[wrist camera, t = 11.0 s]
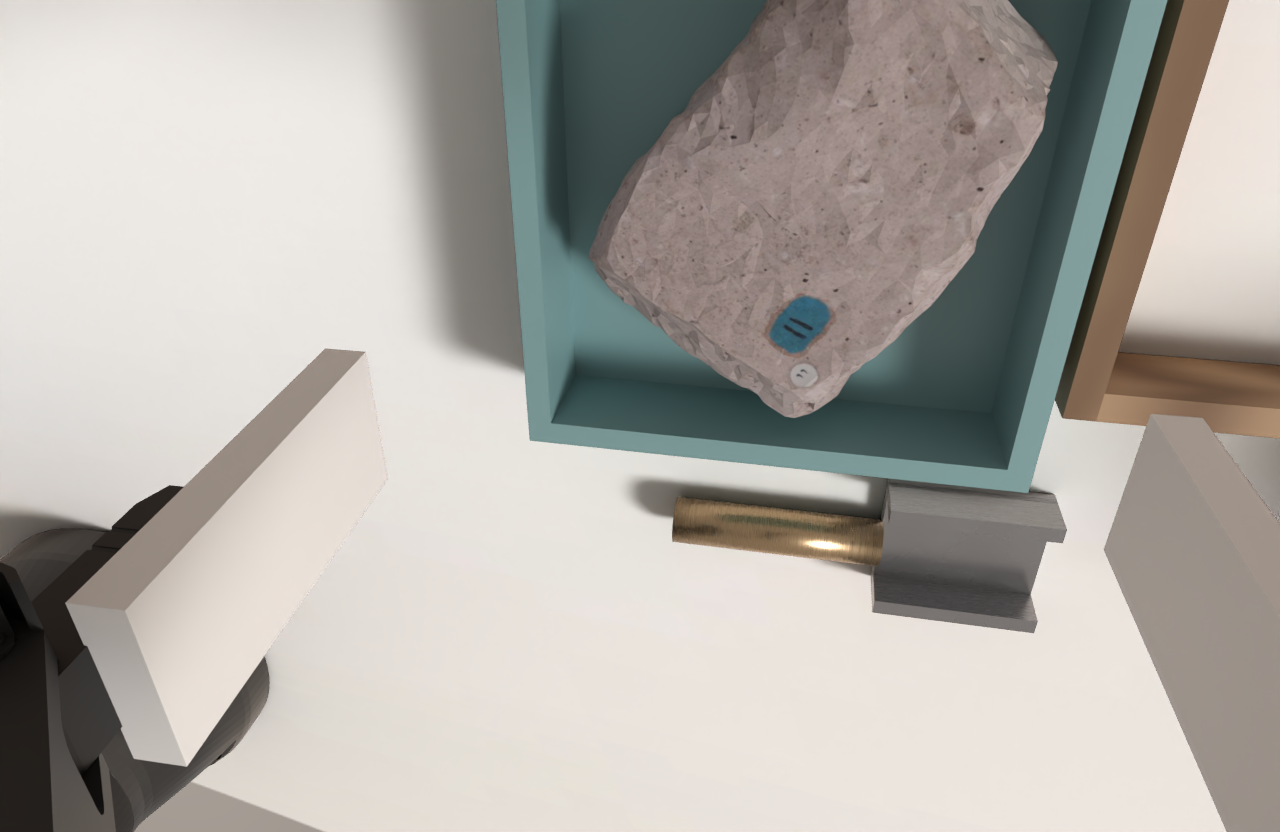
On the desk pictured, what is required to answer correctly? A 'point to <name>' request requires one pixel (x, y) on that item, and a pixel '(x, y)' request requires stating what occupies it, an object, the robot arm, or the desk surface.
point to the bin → (901, 373)
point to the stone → (825, 185)
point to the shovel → (908, 547)
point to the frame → (1093, 364)
